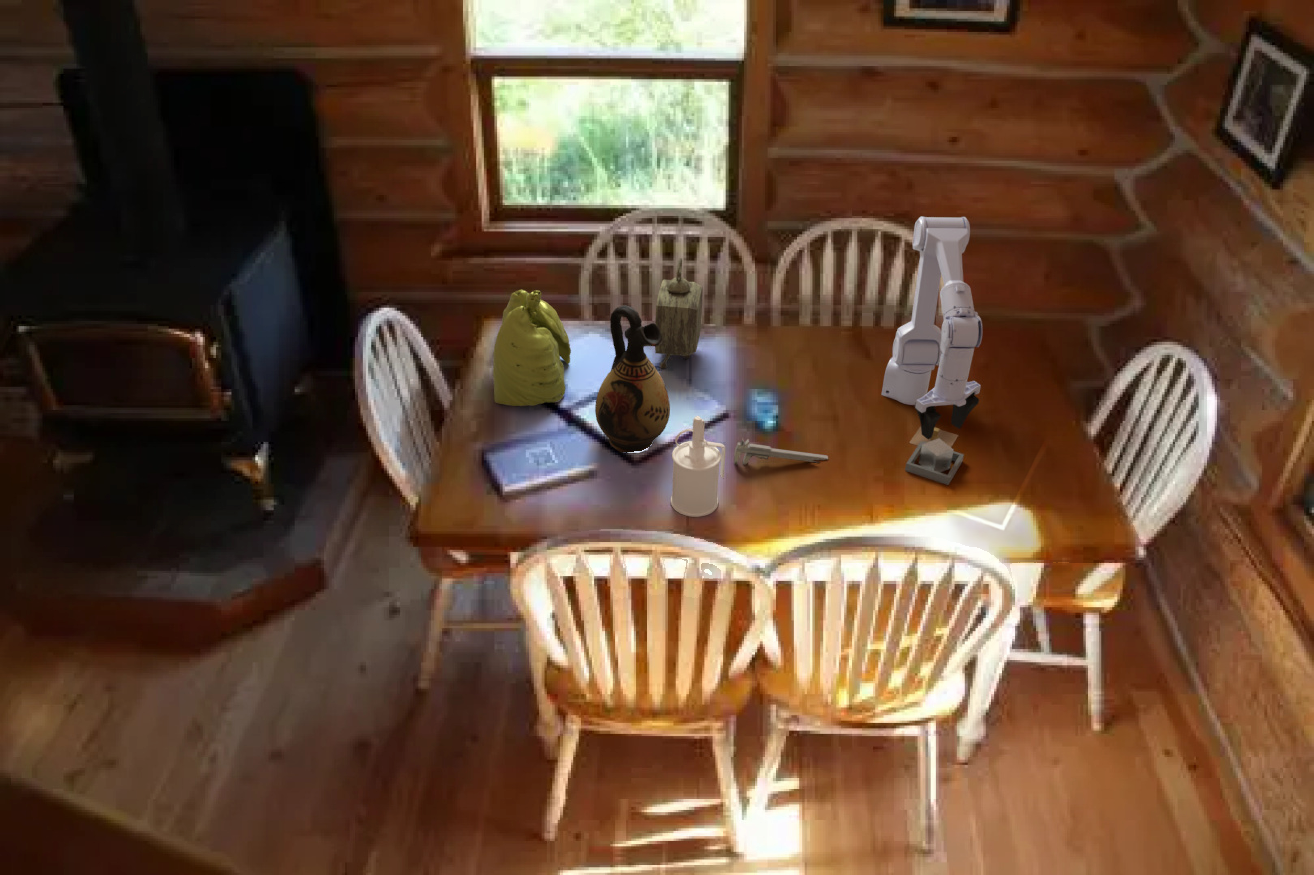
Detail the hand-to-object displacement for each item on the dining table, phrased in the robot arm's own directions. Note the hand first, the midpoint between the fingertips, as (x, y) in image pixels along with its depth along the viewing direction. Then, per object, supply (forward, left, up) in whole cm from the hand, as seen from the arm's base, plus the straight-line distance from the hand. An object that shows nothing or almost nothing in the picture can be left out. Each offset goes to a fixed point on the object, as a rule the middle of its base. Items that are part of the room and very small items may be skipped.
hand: (941, 431), depth 220 cm
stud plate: (-3, +9, -9) cm, 13 cm away
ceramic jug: (-58, -23, -10) cm, 63 cm away
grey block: (0, 0, -9) cm, 9 cm away
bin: (0, 0, -9) cm, 9 cm away
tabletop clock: (-65, +10, -10) cm, 66 cm away
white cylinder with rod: (-36, -34, -10) cm, 51 cm away
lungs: (-87, -16, -10) cm, 89 cm away
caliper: (-27, -14, -10) cm, 32 cm away
